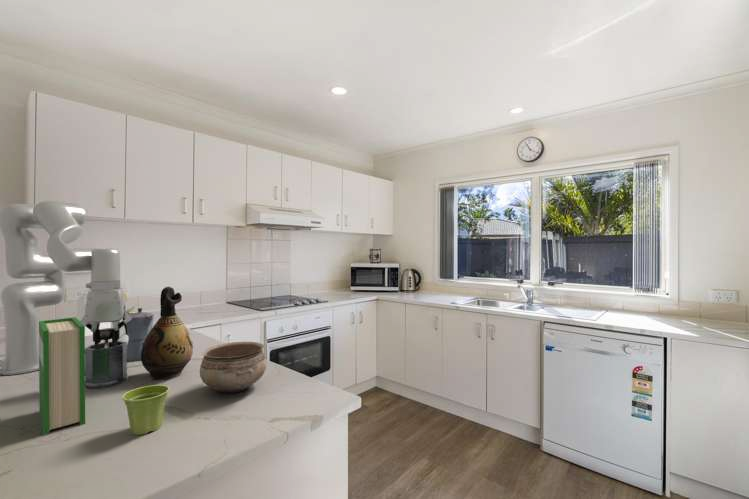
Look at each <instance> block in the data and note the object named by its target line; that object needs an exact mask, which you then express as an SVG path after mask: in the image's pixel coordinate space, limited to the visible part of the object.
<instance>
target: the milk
mask: <svg viewBox="0 0 749 499" xmlns="http://www.w3.org/2000/svg"><path fill="white" fill-rule="evenodd" d="M90 291H91V289H90V288H87V289H86V290H85V291H84V292H83V293H82V294H80V295H79V297H78V298H77V300H76V318H77V319H78V320H79V321H81V319H82V318H83V317H84V315H85V305H86V298H87V294H88V292H90ZM92 324H93V323H92ZM105 328H112V322H102V323H100V326H99V330H100V329H105ZM88 336H93V332H91V330H90V329H88V328H87V327H86V326H85V337H88Z"/></svg>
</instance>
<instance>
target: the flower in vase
mask: <svg viewBox="0 0 749 499" xmlns="http://www.w3.org/2000/svg"><path fill="white" fill-rule="evenodd" d="M123 293H124V298H125V302H127V301H128V300H129V294H128V292H125V291H124V290H123ZM134 310H135V305H134V306H132V307H129V308H128V309H126V311H127V312H128V313H132V311H134ZM128 340H129V339H128V335H126V331H125V330H124V332H123V334H121V335H120V338H119V340H118V341H122V342H127V344H128Z"/></svg>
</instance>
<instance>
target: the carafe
mask: <svg viewBox="0 0 749 499" xmlns="http://www.w3.org/2000/svg"><path fill="white" fill-rule="evenodd" d="M127 380H128V361H127V342H122V341H117V342H116V343H112V341H108V348H105V341H103V342H100V343H99V344H97V345H95V343H94V344H91V345H88V346H87V347H85V389H88V390H89V389H90V390H98V389H105V388H110V387H113V386H114V387H115V386H117V385H118V386H119V385H120V384H122V383H125V382H126V381H127Z"/></svg>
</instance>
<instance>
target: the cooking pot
mask: <svg viewBox="0 0 749 499" xmlns="http://www.w3.org/2000/svg"><path fill="white" fill-rule="evenodd" d="M264 348H265V345H264V344H263V343H261V342H256V341H234V342H226V343H221V344H217V345H213V346H210V347H208V348H206V349H204V350H202V352H201V354H202V355H203V359H202V360H201V364H200V367H199V377H200V378H201V381H202V383H203V384H205V385H206V386H207V387H208V388H211V389H214V390H216V391H218V392H222V393H225V394H236V393H241V392H243V391H245V390H247V388H249V387H251V386H252V385H254V384H255V383H257V382H258V381H259V380H260V379H261V378H262V377H263V375H264V374H265V372H266V369H267V365H268V363H267V358H266V355H265V352H264Z"/></svg>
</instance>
